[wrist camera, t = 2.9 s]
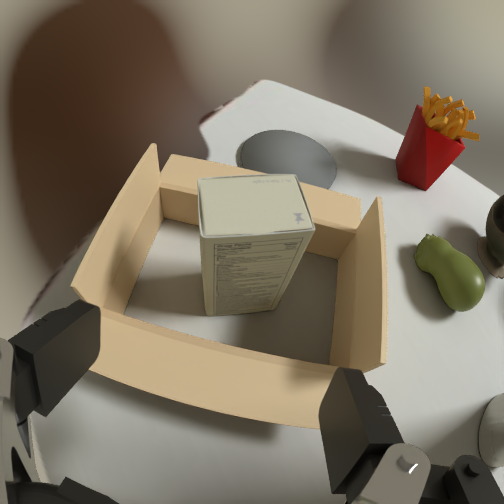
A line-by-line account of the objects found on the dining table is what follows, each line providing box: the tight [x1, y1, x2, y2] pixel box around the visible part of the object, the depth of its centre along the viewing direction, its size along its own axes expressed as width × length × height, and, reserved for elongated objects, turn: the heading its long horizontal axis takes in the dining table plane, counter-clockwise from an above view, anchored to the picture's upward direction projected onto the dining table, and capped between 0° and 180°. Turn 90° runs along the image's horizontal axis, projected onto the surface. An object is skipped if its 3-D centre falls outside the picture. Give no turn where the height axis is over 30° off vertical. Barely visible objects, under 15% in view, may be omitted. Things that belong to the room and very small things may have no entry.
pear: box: [414, 234, 485, 312], centre depth 29 cm, size 6×5×10 cm
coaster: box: [241, 130, 337, 189], centre depth 37 cm, size 12×12×1 cm
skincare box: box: [197, 174, 315, 316], centre depth 22 cm, size 6×4×12 cm
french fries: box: [395, 86, 479, 191], centre depth 33 cm, size 9×8×15 cm
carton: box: [70, 143, 388, 429], centre depth 23 cm, size 19×21×9 cm
